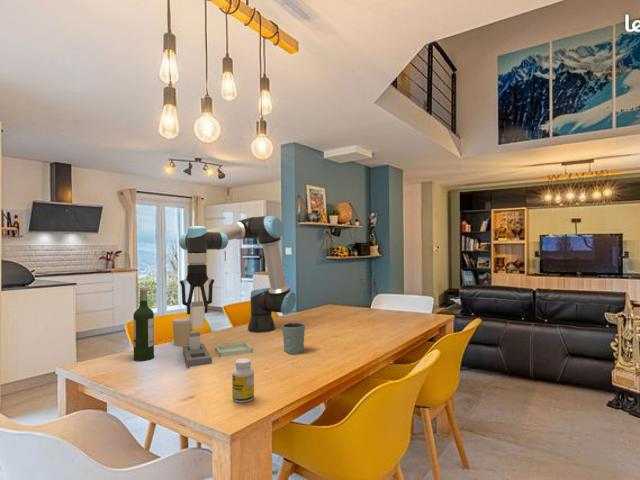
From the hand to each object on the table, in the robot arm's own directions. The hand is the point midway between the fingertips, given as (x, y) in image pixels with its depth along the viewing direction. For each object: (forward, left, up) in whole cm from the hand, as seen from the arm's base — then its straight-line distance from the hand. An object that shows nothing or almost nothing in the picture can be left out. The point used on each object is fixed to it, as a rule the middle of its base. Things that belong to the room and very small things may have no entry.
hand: (197, 321), depth 151 cm
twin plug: (0, -12, -17) cm, 21 cm away
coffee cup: (+3, -35, -17) cm, 39 cm away
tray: (-16, -8, -17) cm, 25 cm away
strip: (0, -6, -17) cm, 18 cm away
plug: (0, 0, -2) cm, 2 cm away
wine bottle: (+20, -17, -17) cm, 31 cm away
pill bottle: (-8, +45, -17) cm, 49 cm away
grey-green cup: (-40, +4, -17) cm, 44 cm away
